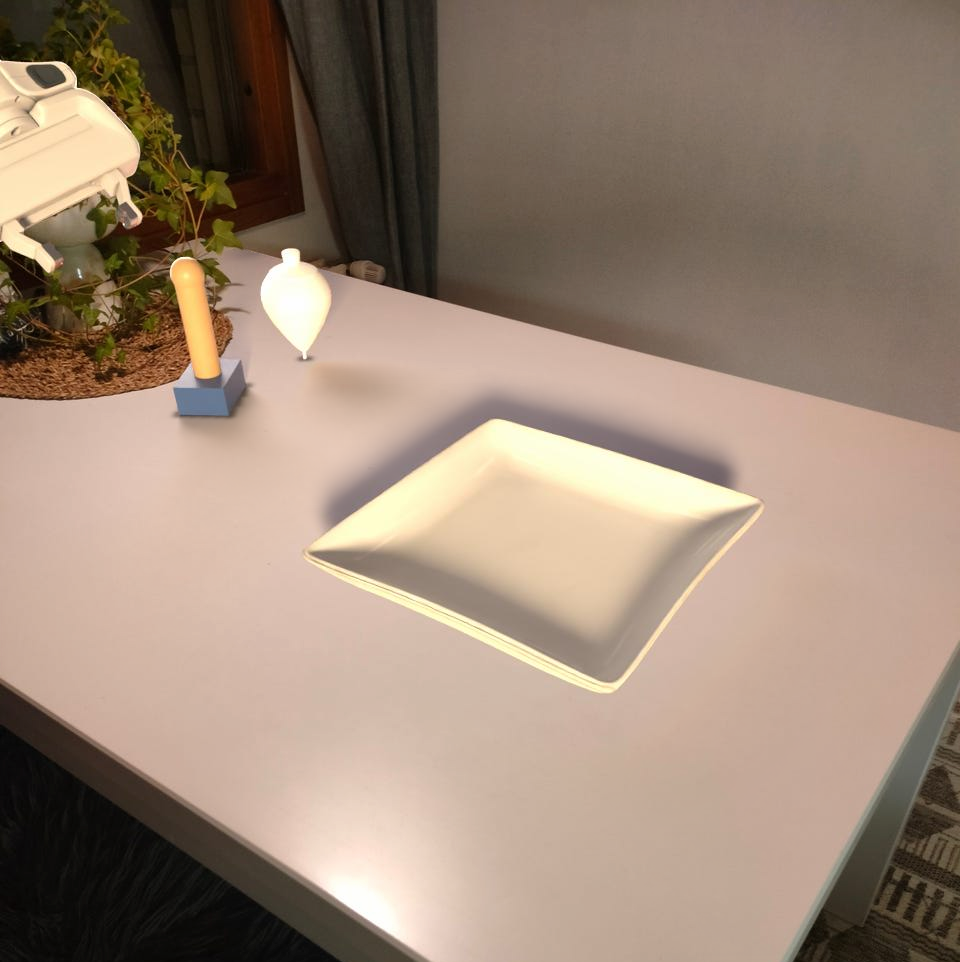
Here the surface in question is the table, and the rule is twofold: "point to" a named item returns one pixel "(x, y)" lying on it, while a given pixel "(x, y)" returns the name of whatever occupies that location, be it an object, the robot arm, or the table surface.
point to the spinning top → (296, 299)
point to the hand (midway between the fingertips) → (97, 244)
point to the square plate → (541, 547)
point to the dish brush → (202, 350)
